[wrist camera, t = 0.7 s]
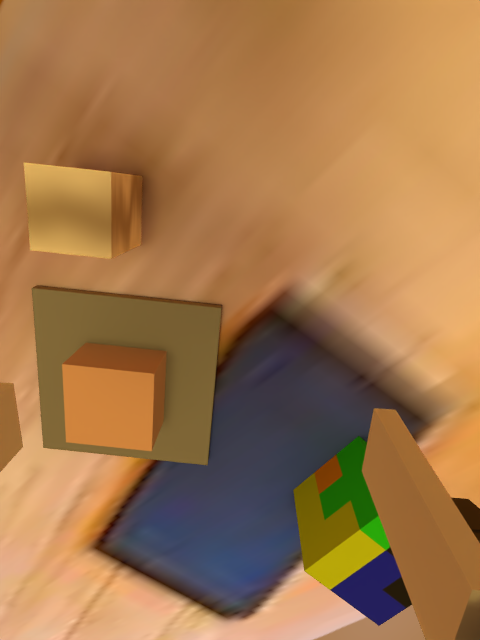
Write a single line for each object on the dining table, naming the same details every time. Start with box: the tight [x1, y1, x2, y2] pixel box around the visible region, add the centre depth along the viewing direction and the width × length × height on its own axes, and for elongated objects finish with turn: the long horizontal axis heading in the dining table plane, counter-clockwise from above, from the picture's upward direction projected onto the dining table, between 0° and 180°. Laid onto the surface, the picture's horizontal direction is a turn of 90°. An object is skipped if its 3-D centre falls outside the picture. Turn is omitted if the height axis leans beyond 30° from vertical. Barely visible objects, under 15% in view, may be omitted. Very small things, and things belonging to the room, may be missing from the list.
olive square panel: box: [32, 286, 222, 465], centre depth 40 cm, size 18×18×1 cm
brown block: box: [24, 163, 143, 259], centre depth 31 cm, size 6×6×8 cm
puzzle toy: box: [293, 436, 412, 625], centre depth 39 cm, size 10×10×10 cm
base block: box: [62, 343, 167, 451], centre depth 37 cm, size 8×8×5 cm
